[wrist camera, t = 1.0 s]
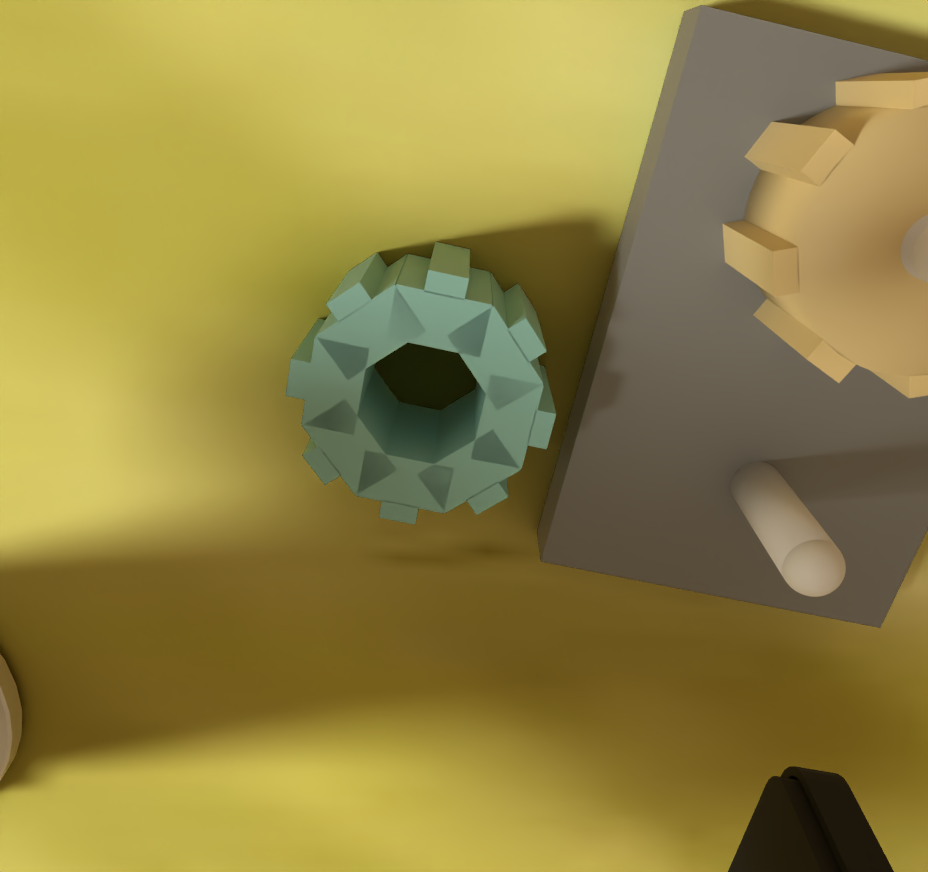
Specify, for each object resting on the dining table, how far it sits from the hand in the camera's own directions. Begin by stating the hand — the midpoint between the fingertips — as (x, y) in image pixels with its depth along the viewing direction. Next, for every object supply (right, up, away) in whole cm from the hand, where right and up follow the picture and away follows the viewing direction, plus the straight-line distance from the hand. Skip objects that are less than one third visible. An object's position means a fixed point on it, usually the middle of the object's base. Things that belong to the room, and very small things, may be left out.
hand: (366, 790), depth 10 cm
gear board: (+11, +7, +18) cm, 22 cm away
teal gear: (0, +7, +18) cm, 19 cm away
